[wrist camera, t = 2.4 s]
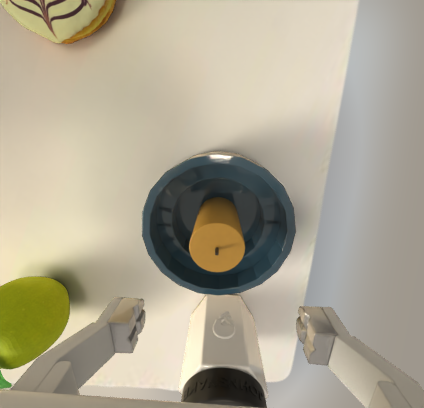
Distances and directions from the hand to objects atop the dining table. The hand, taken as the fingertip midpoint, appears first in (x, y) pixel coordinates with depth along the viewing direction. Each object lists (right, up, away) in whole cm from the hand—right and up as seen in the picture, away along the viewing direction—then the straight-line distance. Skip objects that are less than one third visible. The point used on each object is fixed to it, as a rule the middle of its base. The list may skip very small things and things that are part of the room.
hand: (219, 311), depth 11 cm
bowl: (0, +4, +14) cm, 14 cm away
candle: (0, +4, +13) cm, 14 cm away
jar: (+1, -10, +19) cm, 21 cm away
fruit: (-23, -7, +18) cm, 30 cm away
